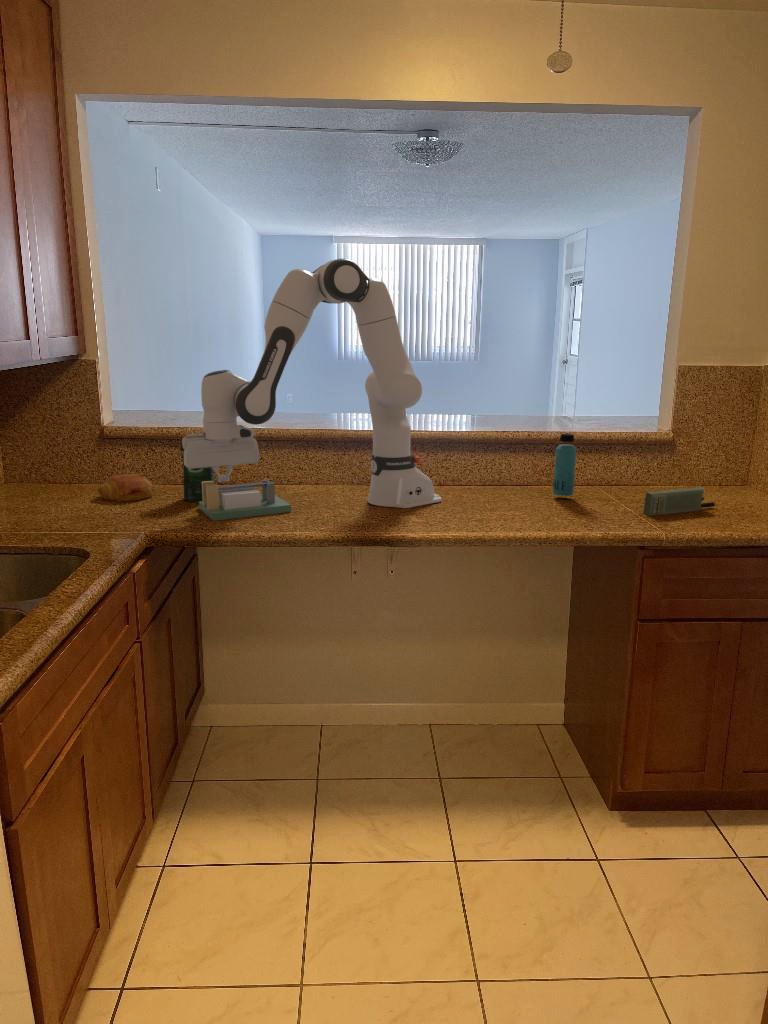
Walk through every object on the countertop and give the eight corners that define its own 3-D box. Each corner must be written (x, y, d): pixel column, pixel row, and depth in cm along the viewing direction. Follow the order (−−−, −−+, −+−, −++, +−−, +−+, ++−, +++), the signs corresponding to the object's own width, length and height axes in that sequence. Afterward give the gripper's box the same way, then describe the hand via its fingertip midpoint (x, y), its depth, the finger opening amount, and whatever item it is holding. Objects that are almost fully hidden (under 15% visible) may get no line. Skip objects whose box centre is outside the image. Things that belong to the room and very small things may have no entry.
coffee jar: (218, 495, 212) (215, 435, 207) (214, 501, 204) (210, 439, 199) (186, 496, 211) (182, 435, 206) (180, 502, 203) (176, 439, 199)
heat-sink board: (273, 500, 206) (272, 472, 204) (291, 511, 194) (290, 481, 192) (199, 508, 196) (197, 478, 194) (213, 520, 184) (211, 489, 181)
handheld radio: (641, 514, 197) (708, 507, 206) (649, 517, 194) (716, 510, 203) (644, 491, 195) (711, 485, 204) (652, 494, 192) (720, 488, 201)
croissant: (98, 502, 212) (92, 477, 210) (149, 489, 220) (143, 465, 217) (108, 510, 200) (102, 484, 198) (162, 497, 208) (156, 471, 205)
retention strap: (268, 484, 198) (268, 479, 198) (272, 486, 196) (271, 481, 195) (205, 490, 190) (205, 485, 190) (208, 492, 188) (208, 487, 187)
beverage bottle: (573, 496, 216) (578, 432, 211) (573, 501, 209) (578, 435, 205) (551, 495, 217) (556, 432, 212) (551, 500, 211) (556, 434, 206)
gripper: (184, 435, 179) (187, 487, 183) (260, 430, 189) (262, 480, 192) (178, 432, 185) (182, 483, 188) (252, 427, 194) (255, 476, 198)
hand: (223, 481), depth 190 cm, fingers closed
